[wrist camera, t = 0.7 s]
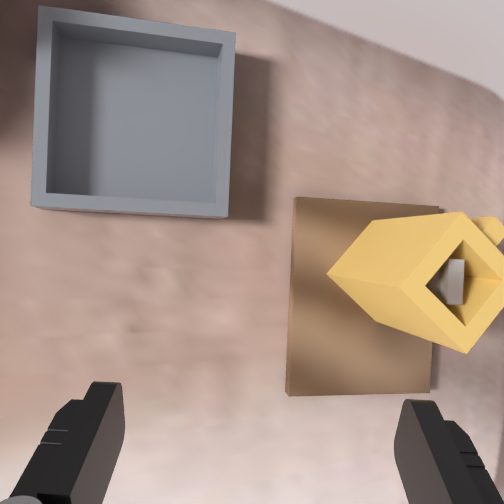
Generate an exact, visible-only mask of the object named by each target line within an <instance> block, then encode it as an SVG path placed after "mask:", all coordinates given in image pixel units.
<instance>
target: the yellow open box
mask: <svg viewBox="0 0 504 504" xmlns="http://www.w3.org/2000/svg"><path fill="white" fill-rule="evenodd" d="M503 238H504V226H503V225H502V224H501V223H500V222H499V220H498V219H497V218H496V217H495V216H494V217H480V218H468V217H467V216H466V215H465V214H464V212H453V213H443V214H433V215H423V216H413V217H402V218H392V219H382V220H372V222H371V223H370V224H369V225H368V226H367V227H366V229H365V230H364V231H363V232H362V233H361V234H360V235H359V237H358V238H357V239H356V240H355V241H354V242H353V244H352V245H351V246H350V247H349V248H348V249H347V251H346V252H345V253H344V254H343V255H342V256H341V258H340V259H339V260H338V261H337V262H336V263H335V264H334V266H333V267H332V268H331V269H330V270H329V271H328V273H327V275H328V276H329V277H330V278H331V279H332V280H333V281H334V282H335V283H336V284H337V285H338V286H339V287H340V288H342V289H343V290H344V291H345V292H346V293H347V294H348V295H349V296H350V297H351V298H352V299H353V300H354V301H355V302H356V303H357V304H358V305H359V306H360V307H361V308H362V309H363V310H364V311H365V312H367V313H368V314H369V315H370V316H371V317H372V318H373V319H374V320H375V321H376V322H379V323H382V324H384V325H387V326H390V327H393V328H396V329H398V330H401V331H404V332H407V333H409V334H412V335H415V336H418V337H421V338H423V339H426V340H429V341H432V342H434V343H437V344H440V345H443V346H446V347H448V348H451V349H454V350H457V351H459V352H462V353H465V354H467V353H468V352H469V350H470V349H471V348H472V347H473V345H474V344H475V343H476V341H477V340H478V339H479V338H480V336H481V335H482V334H483V333H484V331H485V330H486V329H487V328H488V326H489V325H490V324H491V322H492V321H493V320H494V319H495V317H496V316H497V315H498V314H499V312H500V311H501V310H502V308H503V307H504V255H503V254H502V253H501V252H500V251H499V250H498V249H497V248H496V247H497V245H498V244H499V243H500V242H501V240H502V239H503ZM447 259H461V260H465V261H464V281H463V301H462V305H448V304H443V303H442V302H441V301H440V300H439V299H438V298H437V297H436V296H435V295H434V294H433V293H432V292H431V291H430V290H429V289H428V288H427V287H426V286H425V285H426V284H427V283H428V282H429V280H430V279H431V278H432V277H433V276H434V274H435V273H436V272H437V271H438V269H439V268H440V267H441V266H442V265H443V263H444V262H445V261H446V260H447Z"/></svg>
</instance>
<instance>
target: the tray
mask: <svg viewBox="0 0 504 504" xmlns="http://www.w3.org/2000/svg"><path fill="white" fill-rule="evenodd" d="M235 42H236V33H235V32H228V31H221V30H214V29H206V28H199V27H192V26H185V25H178V24H171V23H164V22H157V21H150V20H143V19H135V18H128V17H121V16H114V15H107V14H100V13H93V12H86V11H79V10H72V9H64V8H57V7H50V6H43V5H38V21H37V47H36V74H35V100H34V127H33V153H32V180H31V206H33V207H37V208H40V209H47V210H65V211H83V212H101V213H119V214H137V215H155V216H173V217H191V218H209V219H223V218H226V217H228V204H229V181H230V158H231V135H232V112H233V89H234V66H235Z"/></svg>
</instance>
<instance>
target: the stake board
mask: <svg viewBox="0 0 504 504" xmlns="http://www.w3.org/2000/svg"><path fill="white" fill-rule="evenodd" d="M433 214H439V206H426V205H411V204H396V203H382V202H367V201H352V200H338V199H323V198H308V197H296V198H294V209H293V232H292V254H291V276H290V298H289V320H288V342H287V364H286V387H285V392H286V393H287V394H288V396H325V395H365V394H404V393H430V381H431V361H432V341H429V340H426V339H423V338H421V337H418V336H415V335H412V334H409V333H407V332H404V331H401V330H398V329H396V328H393V327H390V326H387V325H384V324H382V323H379V322H376V321H375V320H374V319H373V318H372V317H371V316H370V315H369V314H368V313H367V312H365V311H364V310H363V309H362V308H361V307H360V306H359V305H358V304H357V303H356V302H355V301H354V300H353V299H352V298H351V297H350V296H349V295H348V294H347V293H346V292H345V291H344V290H343V289H342V288H340V287H339V286H338V285H337V284H336V283H335V282H334V281H333V280H332V279H331V278H330V277H329V276H328V275H327V273H328V271H329V270H330V269H331V268H332V267H333V266H334V264H335V263H336V262H337V261H338V260H339V259H340V258H341V256H342V255H343V254H344V253H345V252H346V251H347V249H348V248H349V247H350V246H351V245H352V244H353V242H354V241H355V240H356V239H357V238H358V237H359V235H360V234H361V233H362V232H363V231H364V230H365V229H366V227H367V226H368V225H369V224H370V223H371V222H372V220H382V219H392V218H402V217H413V216H423V215H433ZM464 261H465V260H461V259H447V260H446V261H445V262H444V263H443V265H442V266H441V267H440V268H439V269H438V271H437V272H436V273H435V274H434V276H433V277H432V278H431V279H430V280H429V282H428V283H427V284H426V285H425V286H426V287H427V288H428V289H429V290H430V291H431V292H432V293H433V294H434V295H435V296H436V297H437V298H438V299H439V300H440V301H441V302H442V303H443V304H448V305H462V301H463V281H464Z"/></svg>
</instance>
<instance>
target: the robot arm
mask: <svg viewBox="0 0 504 504" xmlns="http://www.w3.org/2000/svg"><path fill="white" fill-rule="evenodd" d="M124 433H125V417H124V405H123V393H122V385H121V383H115V382H96V381H94V382H93V383H92V384H91V385H90V387H89V389H88V391H87V393H86V395H85V397H84V399H83V400H74V399H71V400H70V401H69V402H68V403H67V404H66V405H65V406H63V407H62V408H61V409H60V410H59V411H58V412H57V413H56V414H55V416H54V418H53V420H52V422H51V423H50V425H49V427H48V431H47V432H45V434H44V436H43V438H42V440H41V443H40V445H38V447H37V449H36V450H35V452H34V454H33V456H32V458H31V459H30V461H29V463H28V465H27V467H26V468H25V470H24V472H23V474H22V476H21V477H20V479H19V481H18V483H17V485H16V486H15V488H14V490H13V492H12V494H11V495H10V497H9V498H8V499H5V500H3V501H1V502H0V504H102V502H103V499H104V497H105V494H106V491H107V488H108V485H109V482H110V479H111V476H112V473H113V471H114V468H115V465H116V462H117V459H118V456H119V453H120V450H121V447H122V444H123V440H124ZM394 455H395V461H396V464H397V467H398V470H399V474H400V477H401V480H402V483H403V486H404V489H405V492H406V496H407V499H408V502H409V504H504V502H503V500H502V498H501V496H500V494H499V492H498V490H497V488H496V487H495V484H494V483H493V481H492V479H491V477H490V475H489V473H488V471H487V470H485V466H484V464H483V462H482V460H481V458H480V456H478V452H477V450H476V448H475V447H474V445H473V443H472V441H471V439H470V437H469V435H468V434H467V433H465V432H464V431H463V430H462V429H461V428H460V427H459V426H458V425H457V424H456V423H455V422H454V421H447V420H444V419H443V417H442V415H441V413H440V411H439V409H438V407H437V405H436V403H435V402H434V401H432V400H413V399H406V400H405V401H404V403H403V406H402V410H401V414H400V418H399V423H398V427H397V431H396V435H395V440H394Z"/></svg>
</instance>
